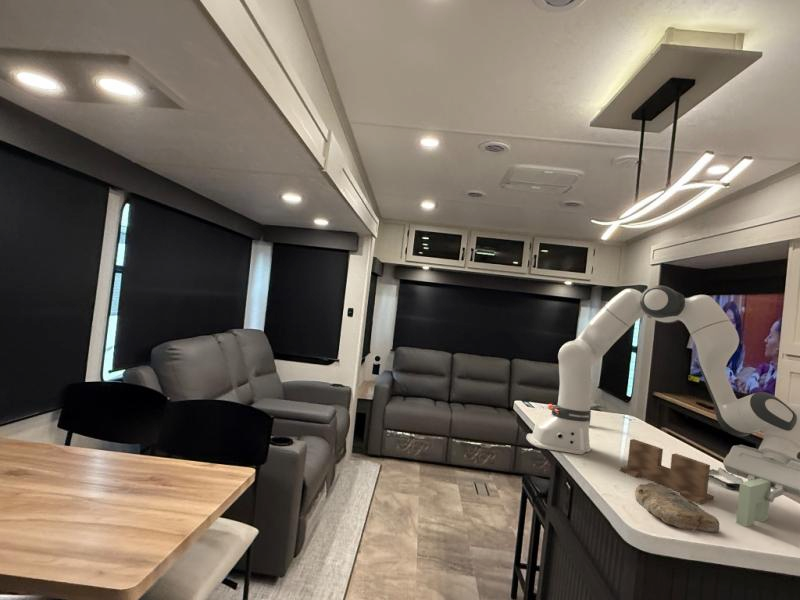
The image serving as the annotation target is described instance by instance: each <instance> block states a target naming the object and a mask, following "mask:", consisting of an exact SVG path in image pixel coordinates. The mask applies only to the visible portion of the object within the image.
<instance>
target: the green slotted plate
mask: <svg viewBox="0 0 800 600" xmlns="http://www.w3.org/2000/svg"><path fill="white" fill-rule="evenodd" d="M771 483H772V482H771V481H768V480H765V479H762V478H758V479H754V480H751V481H748V480H746V481H743V483H740V489H738V499H737V507H736V508H737V511H736V517H735V518H736V519H735V523H736V524H738V525H740V526H743V527H745V528H748V527H750V526H754V525H755V521H757V520H758V522H760V523H762V522H765V521H768V520H769V510H770V504H771V502H770V501H767V500H765V498H764V495H765V494H766V491H768V492H772V487H771ZM764 520H765V521H764Z"/></svg>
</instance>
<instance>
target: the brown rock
mask: <svg viewBox="0 0 800 600" xmlns="http://www.w3.org/2000/svg"><path fill="white" fill-rule="evenodd" d="M634 493H635V494H634V495H635V499H636V501H637V503H638V504H640V505H642V506H641V507H642V508H643V507H644V508H643V509H645V508H646V511H647V512H648V513H650V512H651V514H653V515H654V516H655V517H656V518H658V519H660V520H661V521H662V522H663V523H665V524H667V525H671V526H674V527H676V528H679V529H681V530H686V531H692V530H695V531H694V532H696V531H702V532H703V531H704V532H707V533H714V534H715V533H716V534H718V533H719V532H720V522H719V520H718V519H717V517H716V516H715V515H712V514H710V513H709V512H707V511H705V510H704V509H702V508H701V507H700V506H699V504H697V503H695V502H693V501H690V500H688V499H686V498H685V497H683V496H681V495H680V493H676V492H675V491H674V490H673V489H670V488H668V487H665V486H663V485H661V484H658V483H651V482H650V483H646V484H645V483H641V484H638V486H637V487H635V490H634ZM696 529H697V530H696Z"/></svg>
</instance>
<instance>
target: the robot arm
mask: <svg viewBox="0 0 800 600" xmlns="http://www.w3.org/2000/svg"><path fill="white" fill-rule="evenodd" d="M643 317H647V318H649V319H653V320H655V321H657V322H658V323H662V324H675V323H677V322H682V323H683V324H684V325H685V327H686V329H687V330H688V333H689V334H690V336H691V338H692V340H693V342H694V345H695V347H696V352H697V363H698V367H699V370H700V373H701V375H702V378H703V380H704V383H705V386H706V388H707V390H708V393H709V395H710V397H711V400H712V403H713V406H714V411H715V412H714V413H715V417H716V421H717V422H718V424H719V425H720V427H721V428H722V429H723V430H725V431H726V432H727V433H728V434H730V435H732V436H734V437H743V438H744V437H747V436H749V435H752V434H755V433H757V432H761V433H763V434H764V437H763V439H762V440H761V443H760V445H759V447H758V448H755V447H750V446H747V445H744V444H736V445H733V446H732V447H731V448H730V451H729V452H728V454H726V456H725V457H724V459H723V460H722V461H723V462H722V464H723V467H724V470H725V471H726V472H728V473H729V474H733V475H734V476H737V477H740V478H744V479H747V481H751V480H754V479H758V478H762V479H765V480H768V481H771V482H772V483H771V489H774V490H771V492H768V491H766V494H765V495H764V498H765V500H767V501H770V503H774V501H775V499H776V498H778V497H780V496H783V495H784V493H787V494H790V495H793V496H796V497H798V498H800V404H798V403H794V402H793V403H792V402H791V403H789V402H786V401H783V400H781V399H779V397H776V396H775V395H773V394H771V393H768V392H764V391H759V392H754V393H752V394H749V395H746V396H744V397H741V398H737V396H736V394H735V393H734V389H733V387H732V384H731V383H730V381H729V378H728V376H727V370H726V369H727V365H728V362H729V361H730V359H731V358H732V357H733V354H735V352H736V351H737V349H738V347H739V344H740V336H739V333H738V331H737V329H736V328H735V326H734V324H733V323H732V321H731V319H730V318H729V316H728V315H727V314H726V312H725V311H724V309H723V308H722V307H721V306H720V305H719V303H717V301H716V300H715V299H714V298H713V297H711V296H710V295H706V294H697V295H692V296H690V297H685V296H684V294H682V293H680V292H678V291H677V290H674V289H673V288H670V287H669V286H666V285H659V284H658V285H652V286H649V287H648V288H646V289H644V291H643V292H641V291H640V290H637V289H634V288H625V289H623V290H622V291H620V292H618V294H616V295H615V296H613V297H612V298H611V299H610V300H609V301H607V303H606V304H605V305H604V306H603V307H602V308H601V309H600V310H599V311H598V312H597V313H596V314H595V315H594V316H592V318H591V319H590V320H589V321H588V323H587V324H586V326H585V328H583V330H582V331H581V333H580V334H579V335H578V336H577V337H576V338H575V339H574V340H570V341H567V342H565V343H564V344H563V345H561V347H560V349H559V351H558V354H557V359H558V375H559V376H558V377H559V389H558V399H557V404H555V405H554V404H552V403H548V404H547V409H548V410H550V411H551V413H550V414H549V415H548V416H546V417H544V418H542V419H540V420H538V421H537V422H536V423H535V425H534V427H533V431H532V433H527V434H526V436H525V437H526V438H525V439H526V440H527V441H528V442H529V443H530V444H531V445H532V446H535V447H536V448H539V449H546V450H552V451H558V452H564V453H569V454H576V455H584V454H585V453H588V452H591V444H590V434H589V433H590V430H589V426H590V424H591V415H592V410H590V404H592V390H593V387H592V367H594V366H595V365H596V364H597V363H598V362H599V361H600V360H601V358H602V357H603V356H604V355H606V353H607V352H608V351H609V350H610V348H611V347H612V346H613V345H614V344H615V343H616V342H617V341H618V340H619V339H620V338H621V337H622V336H623V335H624V334H625V333H626V332H627V331H628V330H629V329H630V328H631V327H632V326H633V325H635V323H636V322H637V321H639V319H641V318H643Z"/></svg>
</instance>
